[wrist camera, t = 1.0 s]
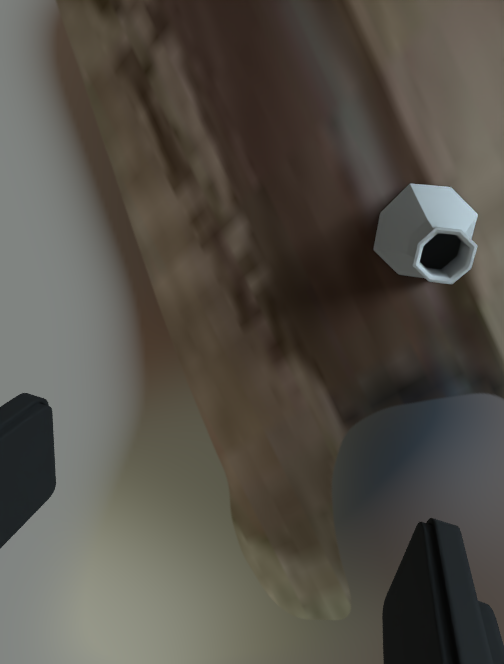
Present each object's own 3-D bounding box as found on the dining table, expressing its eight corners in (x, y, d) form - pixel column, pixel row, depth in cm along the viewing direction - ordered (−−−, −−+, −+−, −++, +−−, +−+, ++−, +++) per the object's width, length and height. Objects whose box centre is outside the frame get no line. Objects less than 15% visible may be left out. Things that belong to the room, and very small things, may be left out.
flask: (496, 207, 30) (550, 223, 21) (439, 293, 33) (466, 338, 24) (404, 166, 31) (420, 164, 22) (357, 254, 34) (353, 284, 25)
